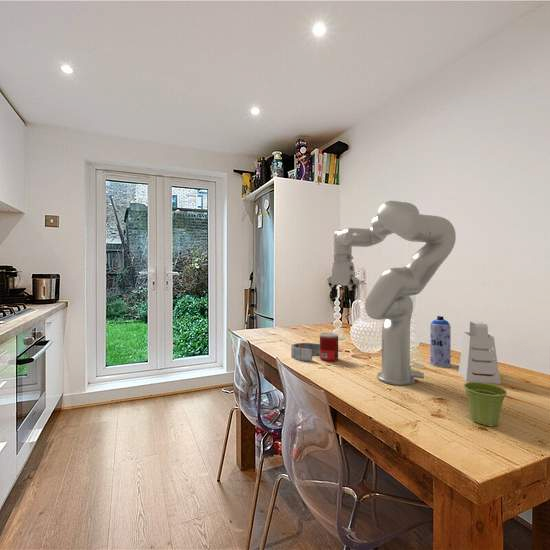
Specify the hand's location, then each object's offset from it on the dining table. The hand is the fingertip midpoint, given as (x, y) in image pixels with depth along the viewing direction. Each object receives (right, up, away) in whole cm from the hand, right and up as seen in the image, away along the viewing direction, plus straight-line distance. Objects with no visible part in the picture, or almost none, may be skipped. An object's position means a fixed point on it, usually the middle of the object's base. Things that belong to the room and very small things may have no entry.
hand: (342, 298), depth 144 cm
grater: (+44, -27, -24) cm, 57 cm away
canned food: (-6, -27, +2) cm, 28 cm away
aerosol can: (+39, -27, -7) cm, 48 cm away
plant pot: (+25, -28, -58) cm, 69 cm away
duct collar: (-16, -27, +6) cm, 32 cm away
